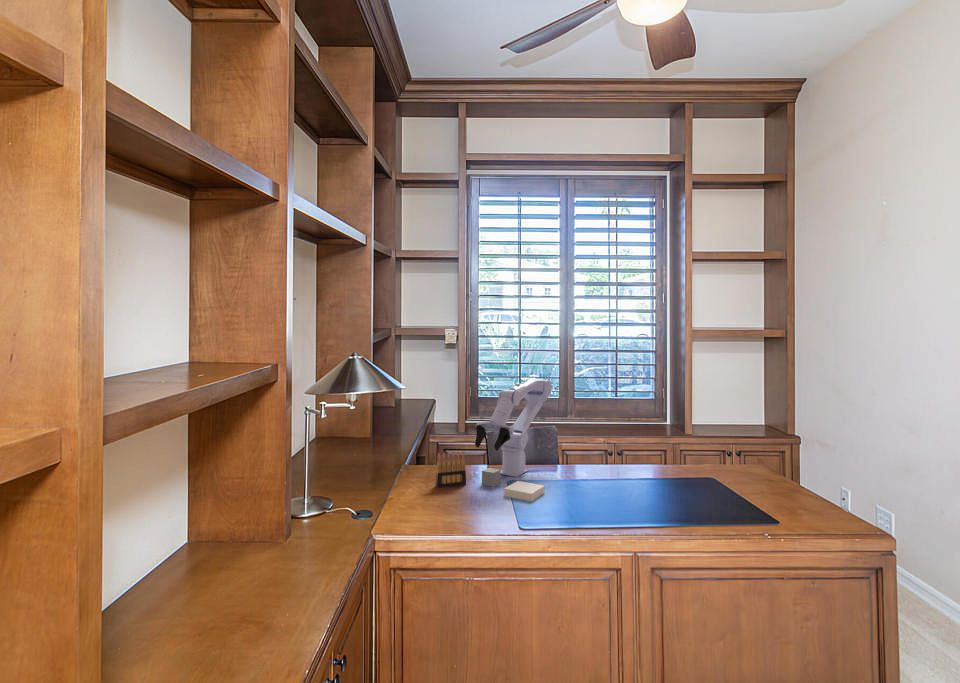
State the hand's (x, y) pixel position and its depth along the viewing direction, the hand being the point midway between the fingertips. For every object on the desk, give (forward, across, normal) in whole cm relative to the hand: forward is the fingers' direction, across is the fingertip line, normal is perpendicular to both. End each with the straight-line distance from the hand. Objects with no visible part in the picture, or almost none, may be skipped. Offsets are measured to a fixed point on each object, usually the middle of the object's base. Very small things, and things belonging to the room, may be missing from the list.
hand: (486, 447), depth 193 cm
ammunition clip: (+13, -11, +7) cm, 19 cm away
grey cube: (+6, 0, +13) cm, 14 cm away
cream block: (+10, +15, +11) cm, 21 cm away
